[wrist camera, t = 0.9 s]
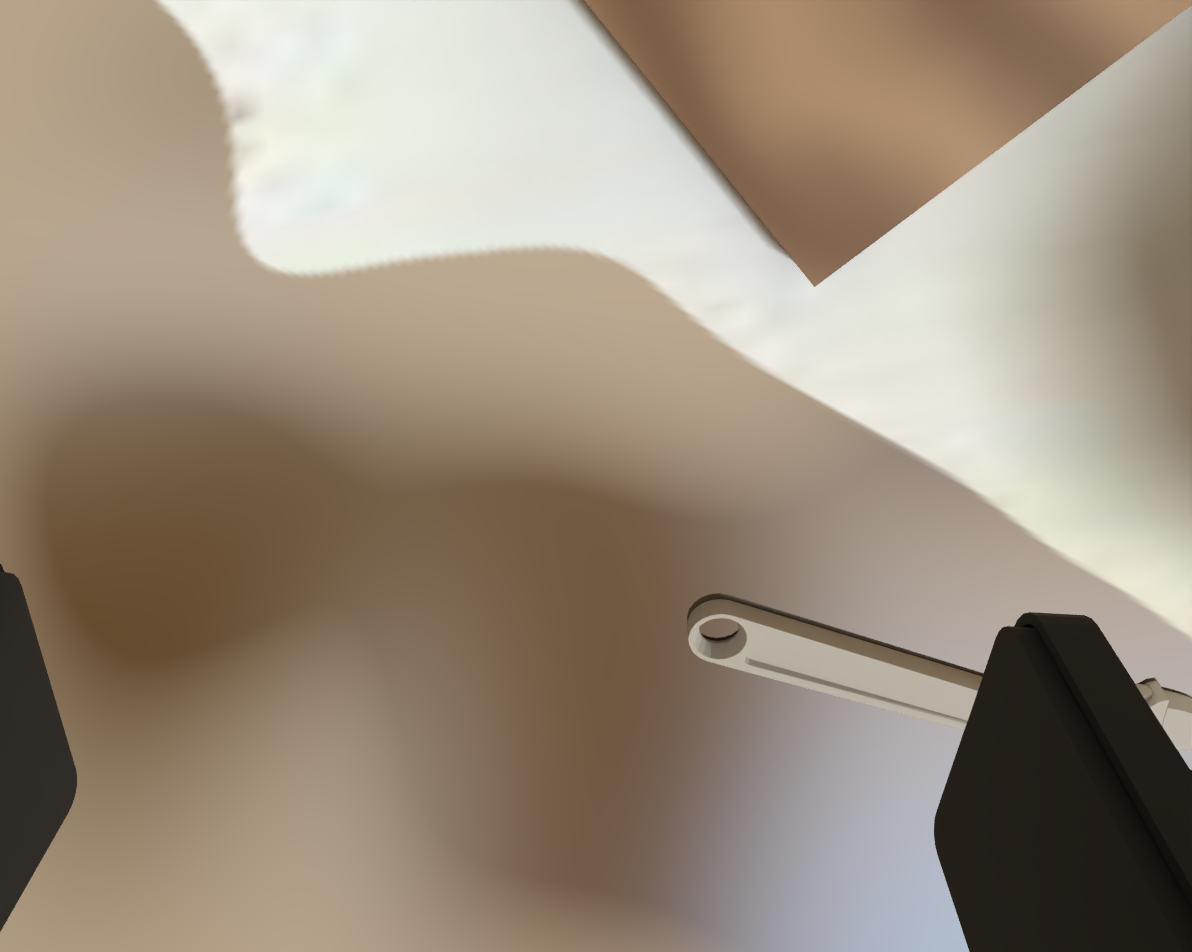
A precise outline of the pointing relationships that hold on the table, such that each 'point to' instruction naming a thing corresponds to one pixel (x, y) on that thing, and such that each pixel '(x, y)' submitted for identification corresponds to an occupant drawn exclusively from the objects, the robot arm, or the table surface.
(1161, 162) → the table surface
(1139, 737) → the robot arm
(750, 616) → the adjustable wrench
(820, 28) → the walnut board
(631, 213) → the table surface
